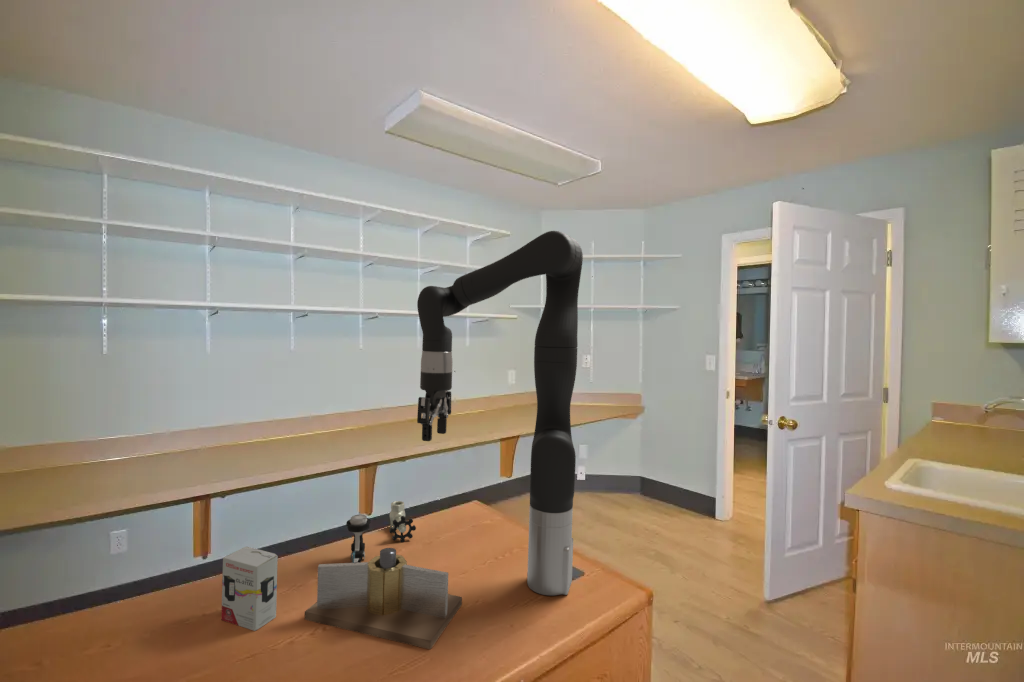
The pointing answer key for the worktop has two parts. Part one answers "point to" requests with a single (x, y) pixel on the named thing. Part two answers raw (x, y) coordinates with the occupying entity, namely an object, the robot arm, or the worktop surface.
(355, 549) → the push button
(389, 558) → the hinge pin
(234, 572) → the ink box
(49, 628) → the worktop surface
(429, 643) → the board
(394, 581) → the hinge knuckles
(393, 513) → the valve
